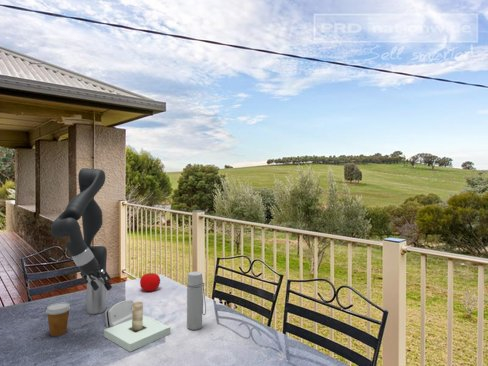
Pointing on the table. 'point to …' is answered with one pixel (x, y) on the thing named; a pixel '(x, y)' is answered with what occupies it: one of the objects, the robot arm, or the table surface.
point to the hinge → (119, 313)
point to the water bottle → (195, 300)
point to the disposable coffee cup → (58, 318)
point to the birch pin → (137, 316)
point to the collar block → (133, 340)
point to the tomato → (149, 282)
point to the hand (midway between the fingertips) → (103, 289)
